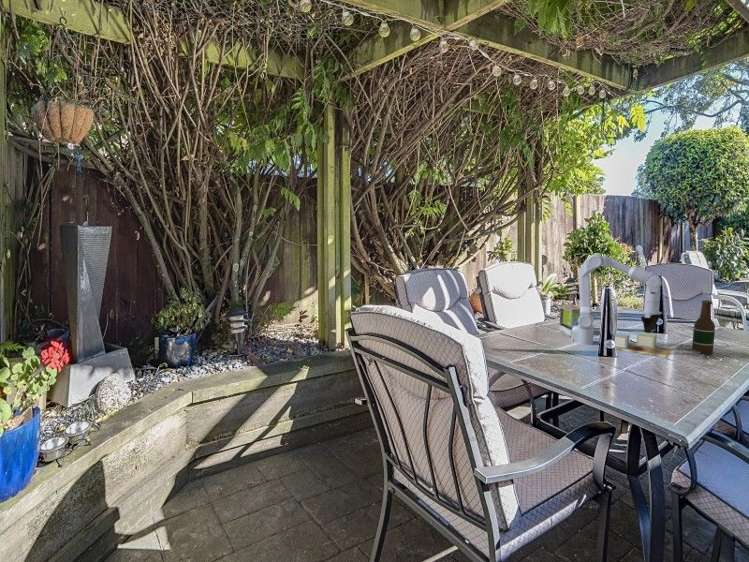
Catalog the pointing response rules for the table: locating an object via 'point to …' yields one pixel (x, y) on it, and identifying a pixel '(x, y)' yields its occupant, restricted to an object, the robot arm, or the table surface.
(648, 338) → the sage carton
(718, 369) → the table surface
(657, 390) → the table surface
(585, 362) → the table surface
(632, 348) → the display board
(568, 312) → the tea box
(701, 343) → the beer bottle
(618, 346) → the slate carton
